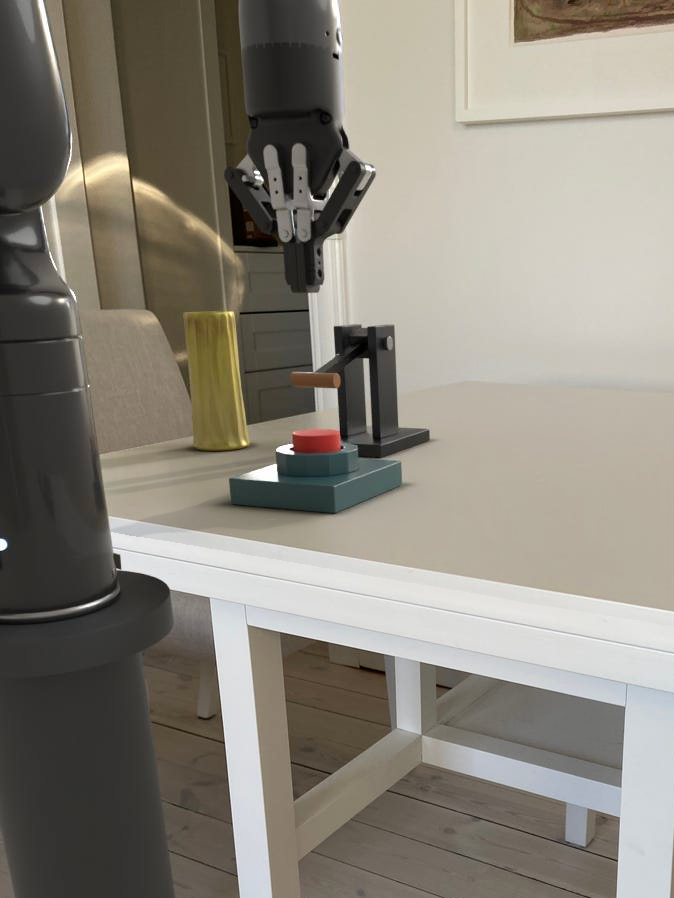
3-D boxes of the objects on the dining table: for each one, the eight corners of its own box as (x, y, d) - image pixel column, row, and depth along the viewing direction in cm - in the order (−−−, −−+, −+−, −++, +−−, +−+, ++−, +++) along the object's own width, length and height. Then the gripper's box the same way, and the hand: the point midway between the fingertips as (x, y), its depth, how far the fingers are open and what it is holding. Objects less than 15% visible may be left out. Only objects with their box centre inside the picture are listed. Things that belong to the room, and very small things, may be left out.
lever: (335, 395, 97) (331, 371, 96) (292, 393, 99) (286, 370, 98) (393, 350, 107) (389, 327, 106) (352, 349, 109) (348, 327, 107)
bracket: (381, 457, 103) (375, 328, 99) (306, 453, 106) (297, 327, 102) (430, 440, 114) (426, 322, 109) (360, 436, 117) (354, 322, 112)
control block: (335, 513, 79) (332, 463, 78) (230, 504, 83) (226, 456, 82) (402, 485, 90) (400, 440, 88) (307, 478, 93) (304, 435, 92)
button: (325, 458, 83) (324, 436, 82) (284, 455, 84) (282, 434, 84) (349, 450, 86) (348, 430, 86) (309, 448, 88) (308, 427, 87)
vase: (257, 442, 113) (245, 310, 109) (239, 451, 108) (226, 313, 103) (205, 442, 114) (191, 311, 109) (185, 451, 108) (169, 313, 103)
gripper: (188, 46, 74) (209, 293, 80) (344, 30, 69) (355, 293, 75) (246, 65, 80) (262, 292, 86) (393, 51, 76) (399, 292, 82)
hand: (305, 292), depth 81 cm, fingers closed
